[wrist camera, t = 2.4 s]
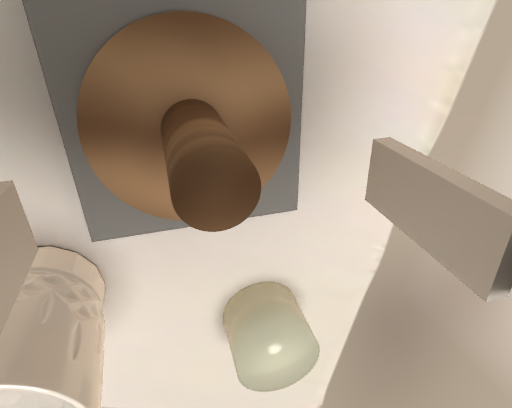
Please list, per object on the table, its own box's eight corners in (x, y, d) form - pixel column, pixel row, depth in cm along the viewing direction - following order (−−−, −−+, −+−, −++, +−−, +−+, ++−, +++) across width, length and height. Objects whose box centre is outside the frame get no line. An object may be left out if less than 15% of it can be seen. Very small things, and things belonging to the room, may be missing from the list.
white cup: (107, 333, 26) (90, 490, 18) (-24, 334, 23) (-118, 520, 15) (121, 242, 23) (108, 380, 15) (-28, 230, 20) (-151, 392, 12)
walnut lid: (51, 13, 16) (-23, 21, 9) (287, 8, 18) (380, 10, 11) (105, 225, 21) (87, 337, 14) (283, 198, 24) (344, 283, 17)
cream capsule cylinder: (220, 290, 27) (234, 342, 23) (295, 275, 28) (322, 322, 24) (225, 344, 30) (238, 400, 26) (293, 328, 31) (316, 379, 27)
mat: (23, -12, 16) (18, -13, 15) (301, -15, 19) (306, -15, 18) (93, 234, 22) (91, 241, 22) (293, 204, 25) (297, 209, 24)
